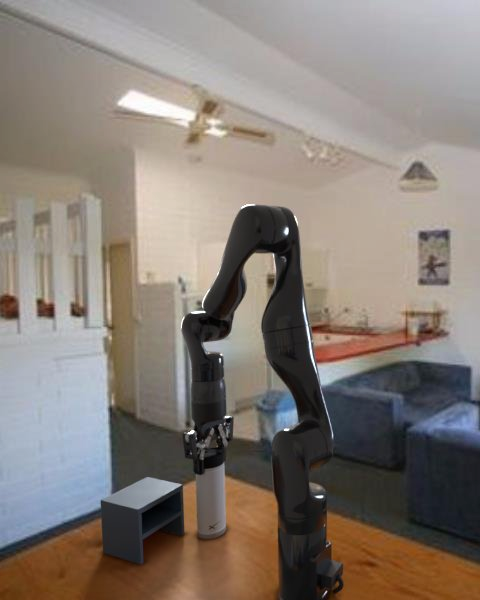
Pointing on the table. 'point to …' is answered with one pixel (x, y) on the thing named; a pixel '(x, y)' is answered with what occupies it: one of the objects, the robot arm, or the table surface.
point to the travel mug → (211, 495)
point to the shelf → (140, 516)
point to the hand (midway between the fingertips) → (210, 467)
